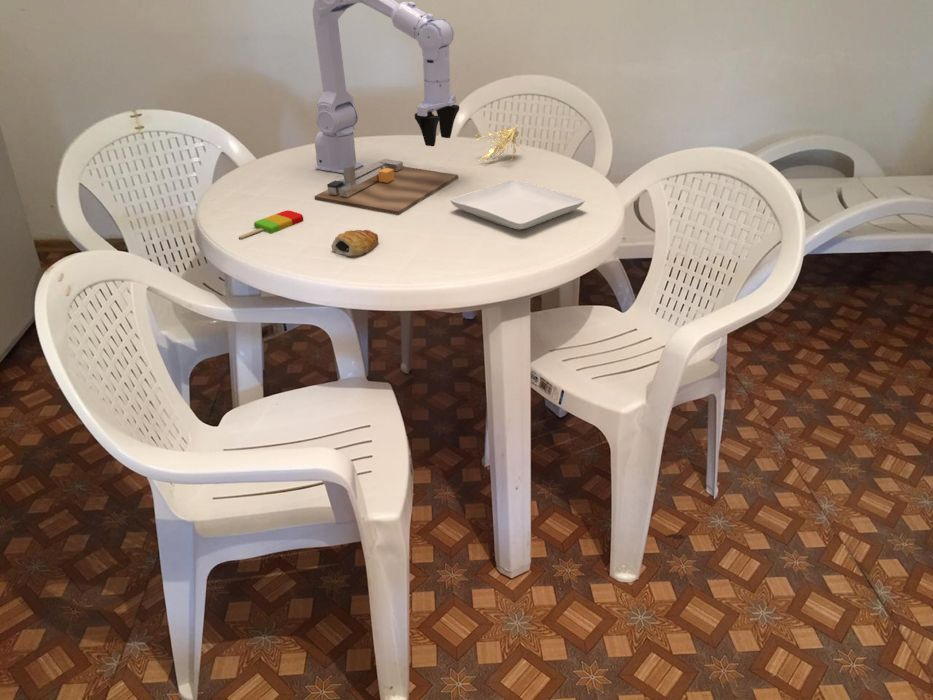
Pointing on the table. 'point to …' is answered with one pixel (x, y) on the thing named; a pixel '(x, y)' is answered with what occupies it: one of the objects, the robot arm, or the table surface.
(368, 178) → the bar
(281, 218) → the popsicle
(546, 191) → the salad plate
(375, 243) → the pastry
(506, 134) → the crumpled gold foil
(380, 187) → the walnut board
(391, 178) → the orange block
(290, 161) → the table surface
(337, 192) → the tongs frame
